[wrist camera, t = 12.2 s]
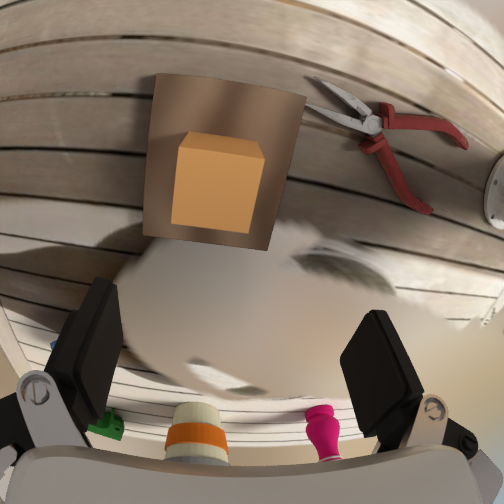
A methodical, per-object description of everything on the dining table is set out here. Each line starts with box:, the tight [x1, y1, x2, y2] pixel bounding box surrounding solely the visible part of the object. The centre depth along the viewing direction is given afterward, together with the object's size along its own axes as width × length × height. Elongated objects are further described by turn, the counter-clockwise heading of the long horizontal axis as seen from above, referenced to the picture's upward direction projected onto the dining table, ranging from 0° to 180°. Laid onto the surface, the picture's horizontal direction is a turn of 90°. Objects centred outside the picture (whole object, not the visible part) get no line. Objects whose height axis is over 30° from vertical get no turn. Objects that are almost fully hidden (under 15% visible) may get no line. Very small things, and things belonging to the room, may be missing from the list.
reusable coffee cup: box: [164, 402, 231, 466], centre depth 48 cm, size 13×12×15 cm
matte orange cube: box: [171, 132, 265, 233], centre depth 24 cm, size 6×6×6 cm
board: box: [143, 73, 307, 251], centre depth 25 cm, size 13×16×6 cm
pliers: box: [305, 77, 469, 215], centre depth 27 cm, size 12×20×3 cm, turn 67°
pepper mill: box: [305, 405, 342, 462], centre depth 50 cm, size 7×7×20 cm
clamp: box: [88, 408, 124, 441], centre depth 51 cm, size 12×6×9 cm, turn 55°
